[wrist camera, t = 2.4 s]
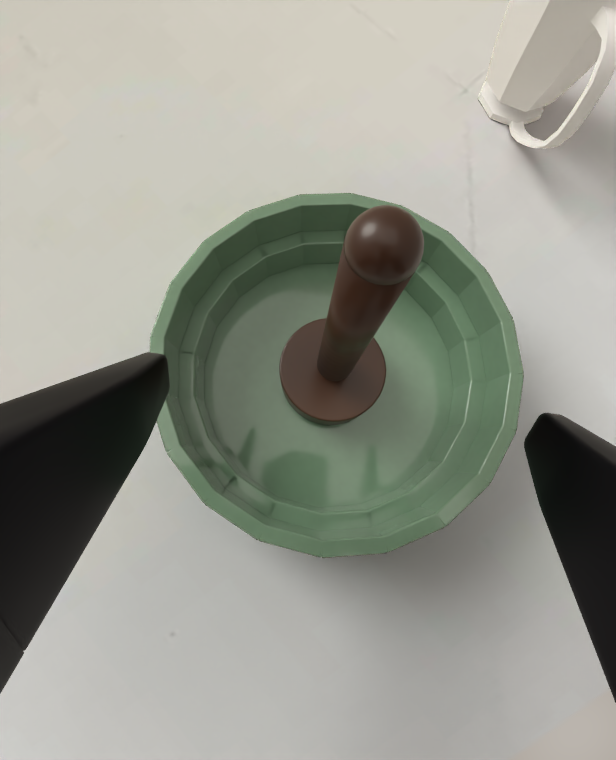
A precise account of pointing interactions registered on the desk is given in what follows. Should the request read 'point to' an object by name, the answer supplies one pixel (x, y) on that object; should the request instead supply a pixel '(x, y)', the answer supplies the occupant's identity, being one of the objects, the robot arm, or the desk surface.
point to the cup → (549, 63)
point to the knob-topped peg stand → (352, 321)
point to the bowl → (357, 437)
